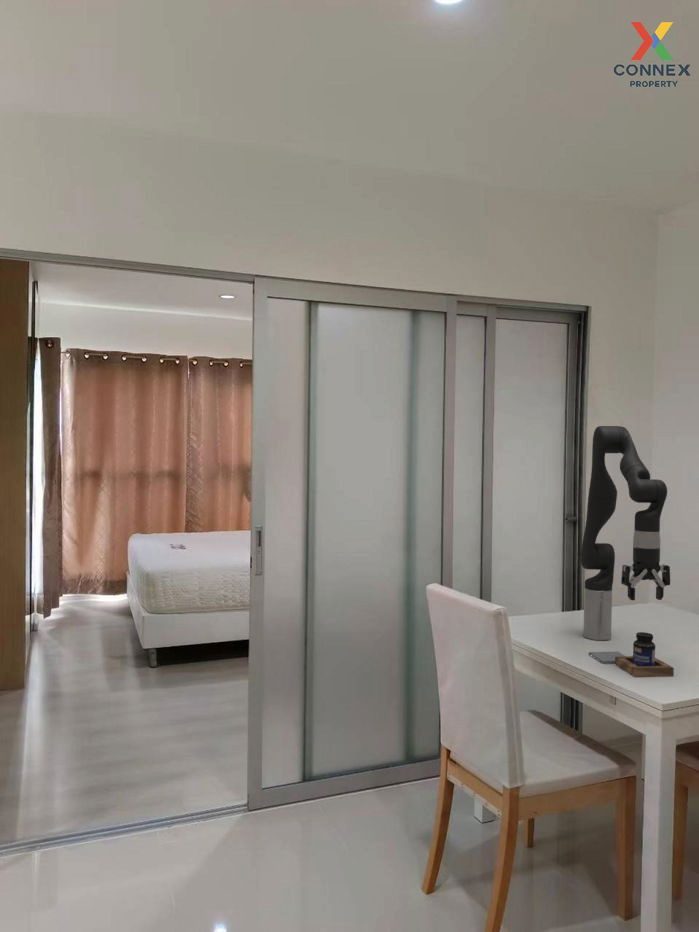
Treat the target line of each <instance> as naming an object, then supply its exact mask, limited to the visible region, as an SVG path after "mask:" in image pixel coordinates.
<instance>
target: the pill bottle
mask: <svg viewBox="0 0 699 932" xmlns="http://www.w3.org/2000/svg"><path fill="white" fill-rule="evenodd" d="M635 637H636V640H634V642H633V645H632V649H633V651H632V656H633V664H635V665H636V666H655V658H656V644H655V642H653V640H654V634H652V633H650V632H645V631H639V632H636V636H635Z"/></svg>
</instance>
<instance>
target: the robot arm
mask: <svg viewBox="0 0 699 932" xmlns="http://www.w3.org/2000/svg"><path fill="white" fill-rule="evenodd" d="M591 446H592V450H591V451H592V454H591V456H592V457H591V473H590V483H589V488H588V496H587V507H586V508H587V509H586V517H585V518H586V520H585V525H584V526H585V527H584V534H583V538H582V543H581V548H580V559H579V560H580V564H581V566H582V568H584V569H585V570H599V572H598V573H597V574H595V575H594V576H592V577H588V578H586V579H585V580H584V593H583V594H584V598H583V599H584V600H583V603H584V605H583V607H584V608H583V633H582V634H583V637H584V638H586V639H590V640H595V641H610V640H611V639H612V620H613V619H612V613H613V586H614V585H613V584H614V574H615V564H616V563H615V562H616V560H615V559H616V552H615V548H614V547H613V545H612V544H611V543H605V542H601V543H599V542H597V539H598V535H599V534H600V531H602V529H603V528H604V526H605V525H606V524H607V522H608V521H609V520H610V519H611V517H612V516H613V515H614V513H615V511H616V507H617V500H618V489H617V486H616V484H615V483H614V481H613V479H612V477H611V475H610V473H609V471H608V469H607V466H606V454H622V455H623V456H622V457H621V459H620V462H619V470H620V473H621V475H622V476H623V477H624V479H625V481H626V483H627V486H628V487H627V488H628V495H629V498H630V499H631V500H632V501H633V502H635V503H639V504H647V503H648V504H649V506H648V508H646V509H642V510H638V511H636V512H635V514H634V532H633V536H632V537H633V539H632V540H633V541H632V565H627V564H623V565H622V570H621V579H620V580H621V582H620V583H621V585H624V586H625V587H627V598H628V600H630V601H635V600H636V588H635V587H636V585H637V584H638V583H640V582H641V581H646V580H649V581H653V582H654V583H655V598H656V600H658V601H662V599H663V598H664V588H665V587H667V586H670V585H671V568H670V567H671V566H669V565H667V564H662V565H660V562H661V534H660V532H661V531H660V530H661V523H660V522H661V517H662V516H661V515H662V512H663V508H664V505H665V503H666V500H667V497H668V487H667V484H666V483H665V482H664V481H663V480H661V479H651V473H650V471H649V469H648V468H647V467H646V465H645V464H644V463H643V461H642V459H641V458H640V456H639V454H638V451H637V449H636V446H635V443H634V441H633V439H632V436H631V433H630V432H629V431H628V429H627V428H626V427H624V426H622V425H598V426H597V427H596V428H595V429H594V432H593V435H592V445H591ZM596 542H597V543H596ZM632 572H633V574H632V575H630V574H631V573H632ZM659 572H661V576H660V575H659Z"/></svg>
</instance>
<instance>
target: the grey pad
mask: <svg viewBox="0 0 699 932" xmlns="http://www.w3.org/2000/svg"><path fill="white" fill-rule="evenodd" d="M588 653H589V654H590V655H592V656H593V657H595V658H596V659H598V660H599V661H601V662H602V663H615V657H621V656H626V655H624V654H623V653H621V652H620V651H589V652H588ZM590 655H589V656H590ZM593 657H592V658H593ZM595 658H594V659H595ZM596 659H595V660H596ZM598 660H597V661H598ZM599 661H598V662H599ZM601 662H600V663H601ZM602 663H601V664H602Z"/></svg>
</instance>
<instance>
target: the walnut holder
mask: <svg viewBox="0 0 699 932" xmlns="http://www.w3.org/2000/svg"><path fill="white" fill-rule="evenodd" d="M615 664H616V665H617V667H618V666H619V667H618V668H619V669H621V668H622V669H621V670H622V671H624V670H625V671H624V672H626V673H627V672H628V673H627V674H629V675H631V676H632V675H633V677H634V678H649V677H650V678H653V677H655V678H657V677H674V674H675V673H674V671H675V668H674V667H673V666H671V665H670V664H668V663H666V662H665V661H662V660H660V659H659V658H657V657H655V666H636V665H635V664H633V655H631V656H629V655H627V656H626V655H625V656H621V657H615ZM615 664H614V665H615ZM616 665H615V666H616ZM656 676H657V677H656Z"/></svg>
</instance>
